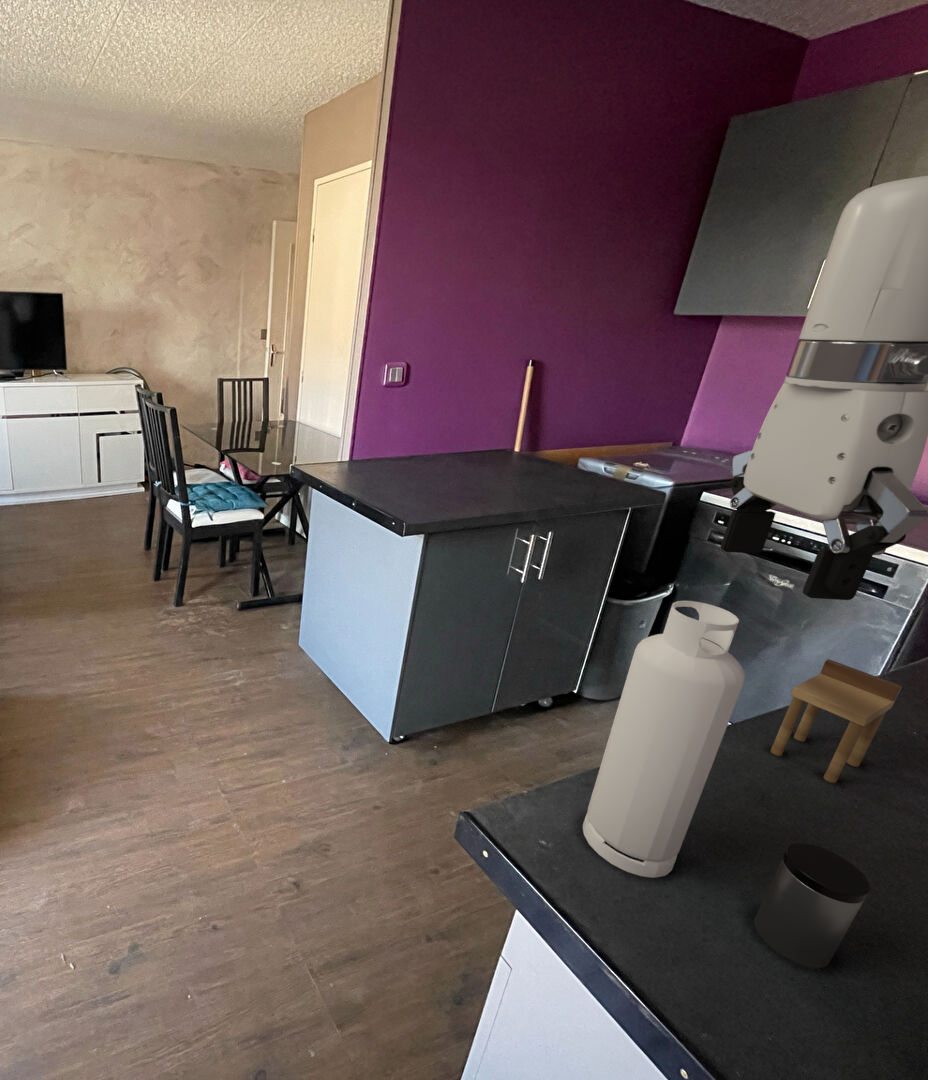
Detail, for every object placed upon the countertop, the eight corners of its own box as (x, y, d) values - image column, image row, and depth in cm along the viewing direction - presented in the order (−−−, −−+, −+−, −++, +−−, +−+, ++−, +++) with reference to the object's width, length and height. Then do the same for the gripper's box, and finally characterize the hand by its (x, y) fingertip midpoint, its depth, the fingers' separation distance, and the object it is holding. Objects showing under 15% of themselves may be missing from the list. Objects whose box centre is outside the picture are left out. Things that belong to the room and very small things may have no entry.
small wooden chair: (794, 734, 78) (828, 658, 74) (862, 766, 73) (902, 686, 69) (766, 752, 75) (799, 673, 71) (834, 786, 70) (874, 703, 66)
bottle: (636, 813, 66) (711, 592, 56) (693, 877, 58) (791, 634, 48) (566, 815, 66) (629, 593, 56) (614, 879, 58) (696, 635, 48)
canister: (769, 904, 56) (803, 834, 52) (841, 953, 51) (882, 880, 48) (741, 927, 54) (774, 855, 50) (813, 980, 49) (855, 905, 46)
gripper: (1053, 377, 35) (930, 624, 41) (819, 359, 51) (755, 539, 57) (911, 376, 36) (811, 617, 43) (725, 359, 52) (672, 536, 59)
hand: (779, 572), depth 50 cm, fingers open, 9 cm apart
